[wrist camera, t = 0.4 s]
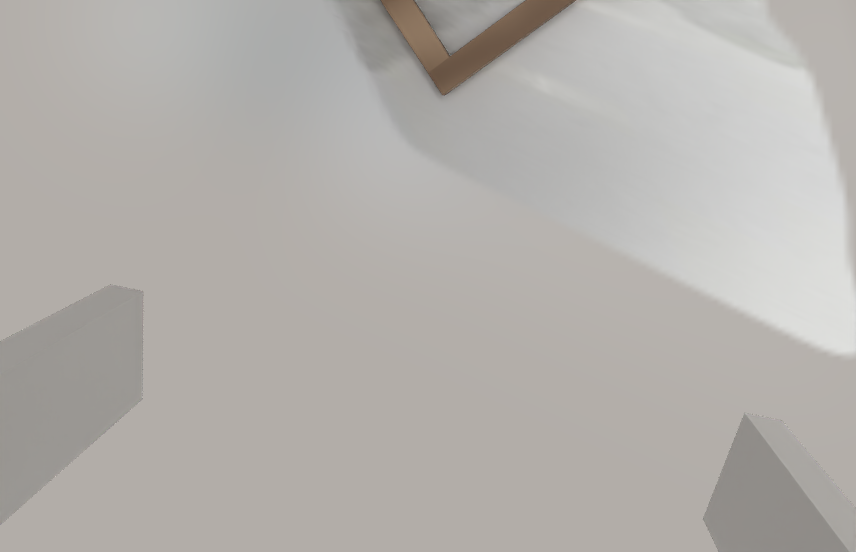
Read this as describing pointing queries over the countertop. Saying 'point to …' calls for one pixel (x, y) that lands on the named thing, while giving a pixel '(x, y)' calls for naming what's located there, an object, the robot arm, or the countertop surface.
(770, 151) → the countertop surface
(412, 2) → the brown wooden square frame
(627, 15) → the countertop surface
